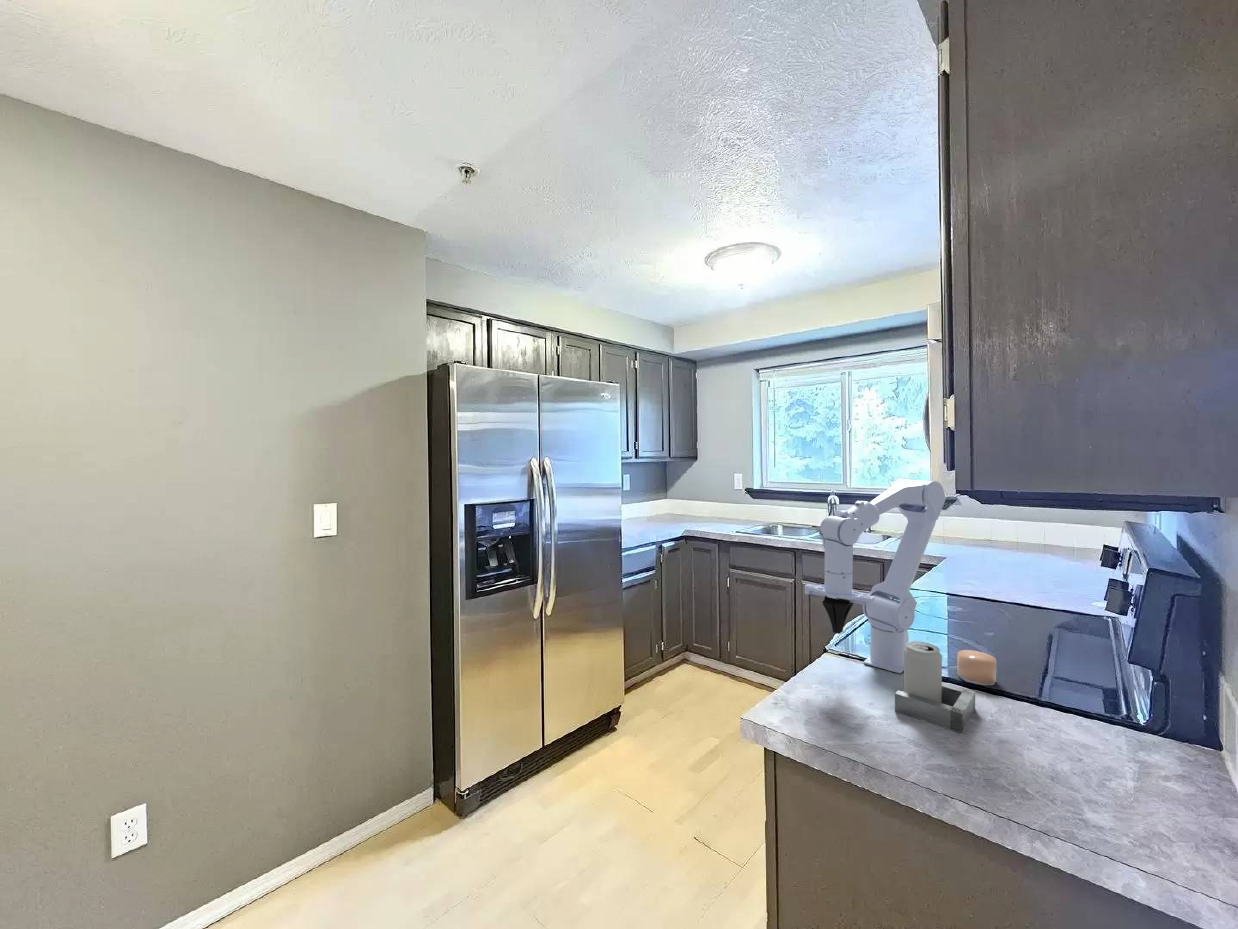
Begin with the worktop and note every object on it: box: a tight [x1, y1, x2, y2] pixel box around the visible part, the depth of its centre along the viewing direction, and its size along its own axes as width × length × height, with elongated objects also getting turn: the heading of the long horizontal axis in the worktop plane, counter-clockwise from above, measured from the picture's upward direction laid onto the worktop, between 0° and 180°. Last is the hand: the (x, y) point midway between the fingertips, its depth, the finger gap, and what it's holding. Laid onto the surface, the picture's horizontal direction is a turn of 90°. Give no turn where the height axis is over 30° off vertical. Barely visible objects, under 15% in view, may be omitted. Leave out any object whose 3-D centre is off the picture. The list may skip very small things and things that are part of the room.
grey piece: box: [894, 682, 976, 734], centre depth 101 cm, size 11×11×4 cm
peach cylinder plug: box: [956, 649, 997, 684], centre depth 114 cm, size 7×7×5 cm
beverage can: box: [903, 641, 943, 703], centre depth 102 cm, size 6×6×12 cm
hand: (837, 632), depth 115 cm, fingers closed
